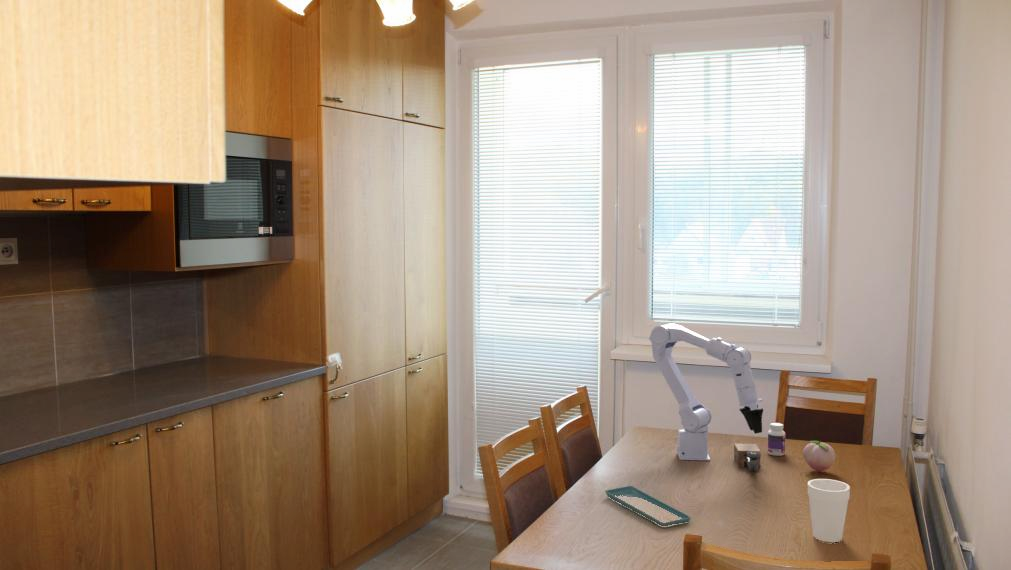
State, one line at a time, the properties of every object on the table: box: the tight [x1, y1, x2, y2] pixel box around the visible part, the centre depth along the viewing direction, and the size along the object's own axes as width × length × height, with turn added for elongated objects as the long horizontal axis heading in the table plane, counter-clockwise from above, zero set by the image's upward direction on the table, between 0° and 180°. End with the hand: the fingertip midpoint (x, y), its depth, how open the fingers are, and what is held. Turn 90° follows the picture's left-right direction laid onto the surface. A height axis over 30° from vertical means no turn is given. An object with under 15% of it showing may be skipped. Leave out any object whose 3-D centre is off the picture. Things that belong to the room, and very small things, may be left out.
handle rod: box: [744, 451, 762, 474], centre depth 249 cm, size 4×18×6 cm, turn 173°
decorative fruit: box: [802, 439, 836, 473], centre depth 244 cm, size 9×8×10 cm
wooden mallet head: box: [733, 443, 761, 468], centre depth 254 cm, size 7×8×5 cm
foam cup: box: [806, 478, 851, 542], centre depth 194 cm, size 10×9×13 cm
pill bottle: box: [767, 422, 786, 457], centre depth 263 cm, size 5×5×10 cm
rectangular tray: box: [604, 485, 692, 526], centre depth 214 cm, size 26×9×2 cm, turn 26°
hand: (756, 431), depth 247 cm, fingers open, 7 cm apart
